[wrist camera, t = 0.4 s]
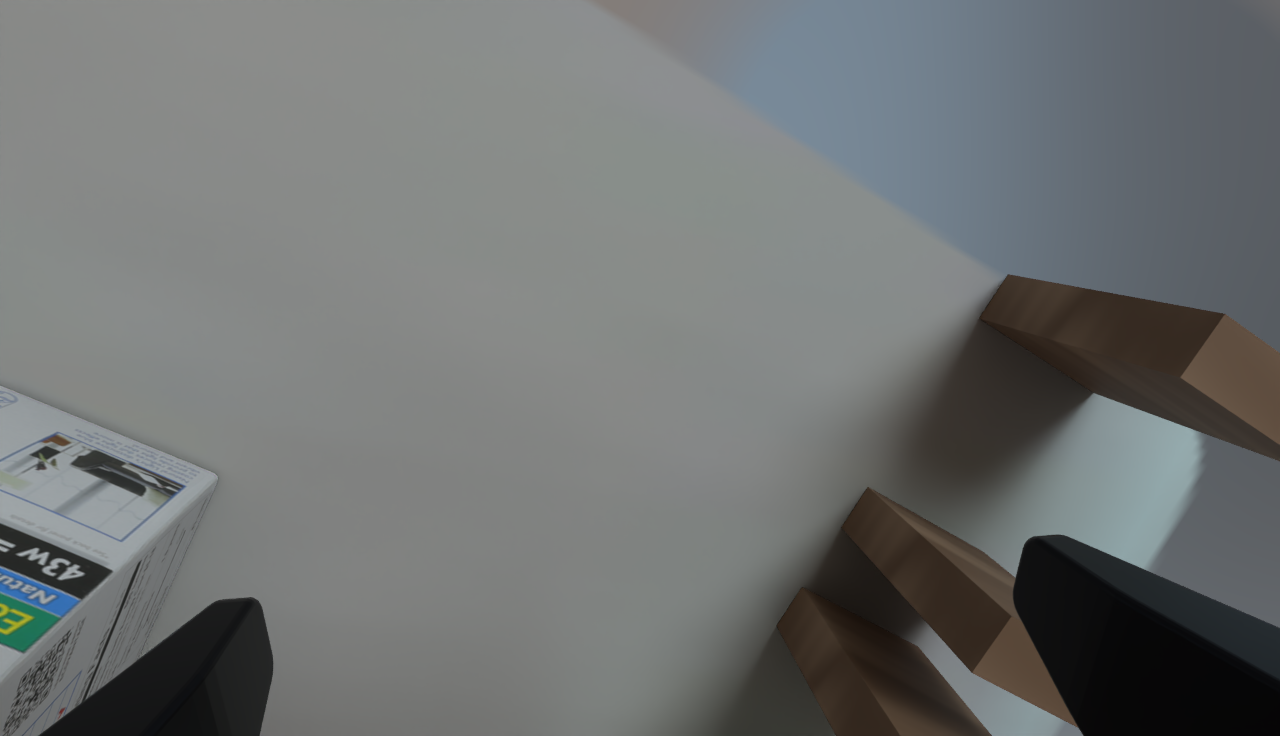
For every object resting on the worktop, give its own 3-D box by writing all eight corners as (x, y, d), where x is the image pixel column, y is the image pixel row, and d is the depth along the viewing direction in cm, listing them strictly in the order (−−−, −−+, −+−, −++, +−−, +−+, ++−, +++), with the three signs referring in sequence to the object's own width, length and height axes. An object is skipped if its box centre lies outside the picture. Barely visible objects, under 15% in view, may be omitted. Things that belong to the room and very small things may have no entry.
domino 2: (957, 590, 27) (1127, 753, 19) (841, 527, 26) (971, 672, 18) (984, 552, 27) (1167, 700, 19) (867, 487, 26) (1011, 616, 18)
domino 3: (1094, 392, 26) (1332, 480, 18) (979, 318, 25) (1180, 377, 17) (1122, 351, 26) (1376, 422, 18) (1008, 274, 24) (1225, 313, 17)
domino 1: (892, 683, 27) (1032, 879, 20) (776, 625, 26) (875, 808, 18) (918, 646, 27) (1069, 830, 19) (802, 587, 26) (913, 755, 18)
